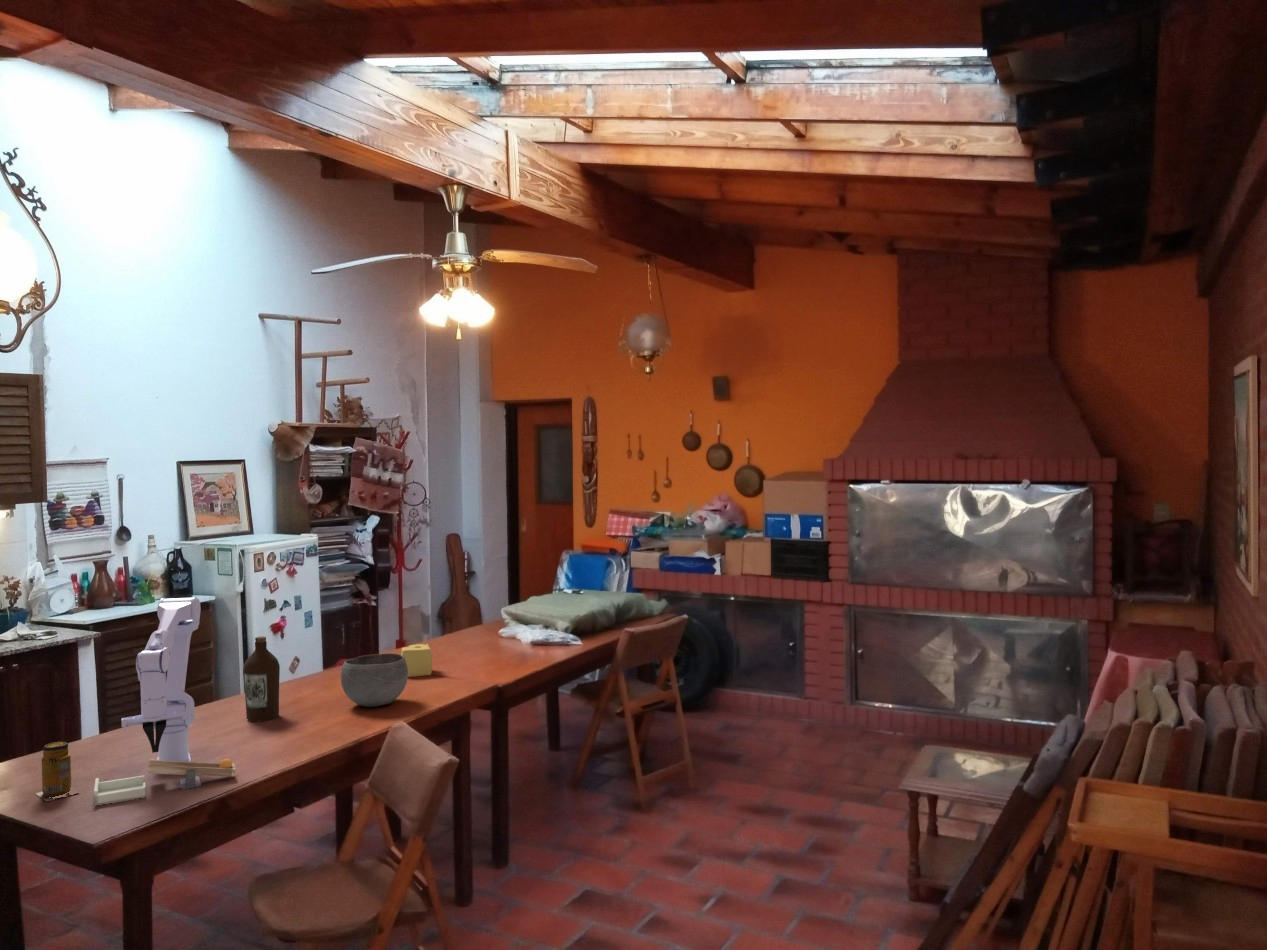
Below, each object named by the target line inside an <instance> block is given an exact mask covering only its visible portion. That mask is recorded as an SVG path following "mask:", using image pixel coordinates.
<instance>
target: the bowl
mask: <svg viewBox="0 0 1267 950" xmlns="http://www.w3.org/2000/svg"><path fill="white" fill-rule="evenodd" d="M408 678H409V677H408V667H407V663H406V660H405V658H404V656H403V655H401V653H400V654H398V653H393V652H392V653H378V654H376V653H374V654H367V655H361V656H357V657H356V656H355V657H353V658H350V659H347V660H345V661H344V662H343V664H342V666H341V670H340V684H341V686H342V689H343V692H344V694H345V695H346V697H348V699H349V700H350V701H351V702H352V703H355V704H356V705H358V706H360V707H366V708H373V707H380V706H386V705H388V704H391V703H392V702H394V701H395V700H396V699H398V697H400V695H402V694H403V692H404V690H405V688H406V686H407V682H408Z"/></svg>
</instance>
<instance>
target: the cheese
mask: <svg viewBox="0 0 1267 950" xmlns="http://www.w3.org/2000/svg"><path fill="white" fill-rule="evenodd" d="M400 655H403V656H404V658H405V660H406V663H407V667H408V678H413V677H422V676H431V675H432V670H433V654H432V651H431V647H430V646H429V644H428V643H418V644H411V645H408V646H407V647H406V646H404V647H401V651H400Z"/></svg>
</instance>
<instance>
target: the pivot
mask: <svg viewBox="0 0 1267 950" xmlns="http://www.w3.org/2000/svg"><path fill="white" fill-rule="evenodd" d="M179 781H180V789H185V790H189V788H191V789H195V788H194V787H197V788H201V787H202V783H201V777H200V775H195V770H190V771H186V775H185V776H184V778H183V777H182V778H179Z"/></svg>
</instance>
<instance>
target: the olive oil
mask: <svg viewBox="0 0 1267 950" xmlns="http://www.w3.org/2000/svg"><path fill="white" fill-rule="evenodd" d="M254 640H255V641H254V648H255V649H254V651H253V652H252V653H251V654H250V655H249V656H248V657H247V658H246V660H245V662H244V665H243V667H242V668H243V669H242V674H243V684H244V696H245V713H246V720H247V719H248V720H247V721H249V720H251V721H250V722H265V721H264V720H266V721H271V720H274V719H276V717H277V718H278V717H279V715H280V675H281V674H280V673H281V672H280V670H281V669H280V668H281V667H280V663H279V660H278V658H277V657H276V656H275V655H274V654H273V653H272V652H271V651H269V649H268V647H267V646H268V643H267V636H257V637H254ZM270 719H271V720H270Z"/></svg>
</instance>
